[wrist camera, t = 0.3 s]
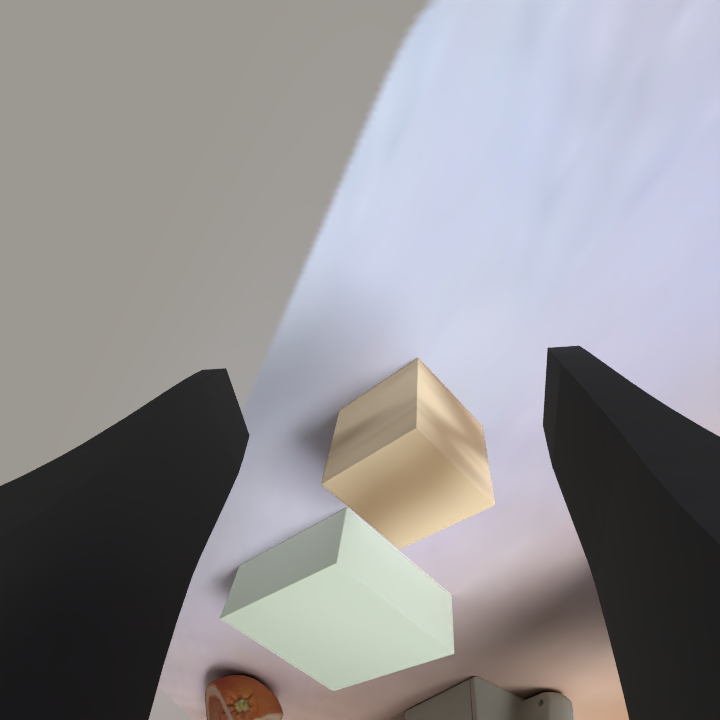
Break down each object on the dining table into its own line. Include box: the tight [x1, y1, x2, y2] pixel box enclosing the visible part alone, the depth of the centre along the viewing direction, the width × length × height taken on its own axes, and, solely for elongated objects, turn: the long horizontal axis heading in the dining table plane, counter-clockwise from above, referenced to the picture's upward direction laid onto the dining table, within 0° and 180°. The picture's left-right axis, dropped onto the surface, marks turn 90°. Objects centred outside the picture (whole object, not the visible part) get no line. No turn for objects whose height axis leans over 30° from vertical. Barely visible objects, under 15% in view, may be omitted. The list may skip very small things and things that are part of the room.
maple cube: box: [321, 358, 495, 549], centre depth 21 cm, size 5×5×5 cm
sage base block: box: [220, 508, 454, 691], centre depth 30 cm, size 10×10×4 cm
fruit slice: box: [205, 675, 283, 720], centre depth 38 cm, size 8×7×5 cm
